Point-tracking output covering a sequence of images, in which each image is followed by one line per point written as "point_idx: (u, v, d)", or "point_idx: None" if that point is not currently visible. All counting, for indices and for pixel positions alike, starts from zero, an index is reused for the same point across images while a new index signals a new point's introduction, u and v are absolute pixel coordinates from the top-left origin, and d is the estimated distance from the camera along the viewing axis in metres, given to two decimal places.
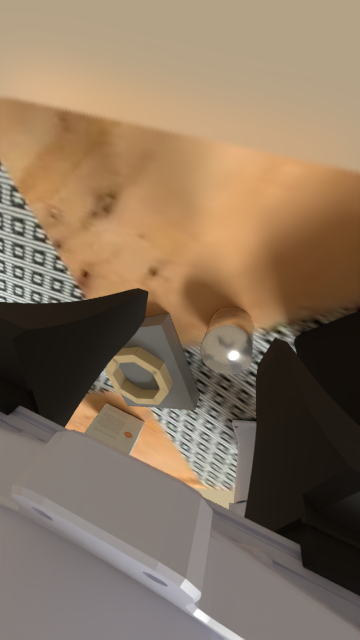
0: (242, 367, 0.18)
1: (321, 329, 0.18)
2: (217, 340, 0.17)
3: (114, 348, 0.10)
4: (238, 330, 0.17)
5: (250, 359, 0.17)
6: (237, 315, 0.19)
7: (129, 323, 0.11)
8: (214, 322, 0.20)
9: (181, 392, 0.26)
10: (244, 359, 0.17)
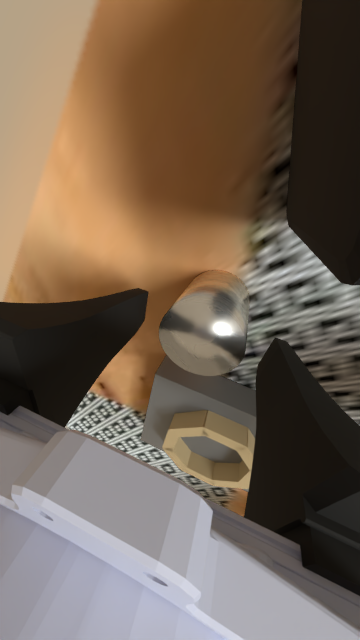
0: (234, 334, 0.09)
1: (290, 165, 0.09)
2: (168, 335, 0.11)
3: (114, 348, 0.10)
4: (180, 298, 0.11)
5: (223, 313, 0.09)
6: (189, 285, 0.13)
7: (129, 323, 0.11)
8: None
9: None
10: (219, 322, 0.09)
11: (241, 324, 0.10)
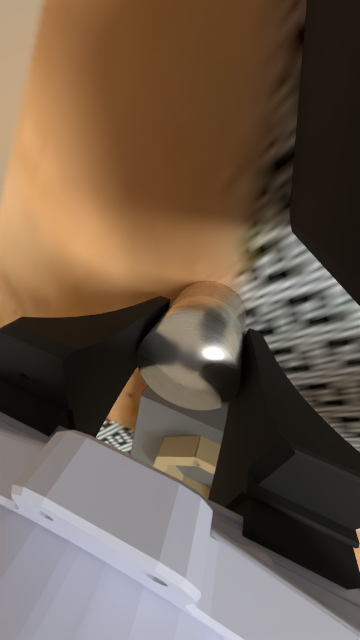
0: (226, 366, 0.08)
1: (295, 157, 0.07)
2: (147, 363, 0.09)
3: None
4: (162, 319, 0.09)
5: (211, 342, 0.07)
6: (175, 299, 0.11)
7: None
8: None
9: None
10: (208, 352, 0.08)
11: (235, 354, 0.08)
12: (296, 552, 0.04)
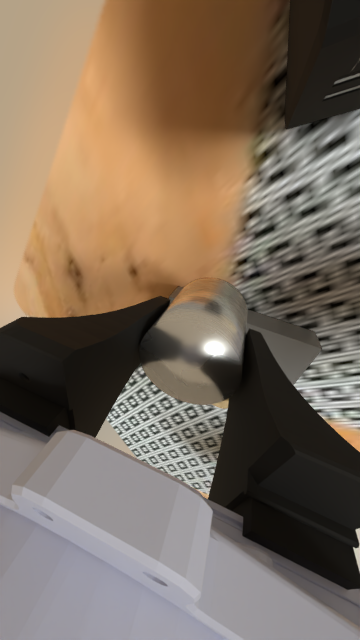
0: (228, 358, 0.08)
1: (287, 71, 0.11)
2: (150, 358, 0.09)
3: (138, 358, 0.10)
4: (163, 314, 0.09)
5: (212, 334, 0.07)
6: (176, 296, 0.11)
7: None
8: None
9: (276, 343, 0.17)
10: (209, 345, 0.08)
11: (236, 346, 0.08)
12: (296, 552, 0.04)
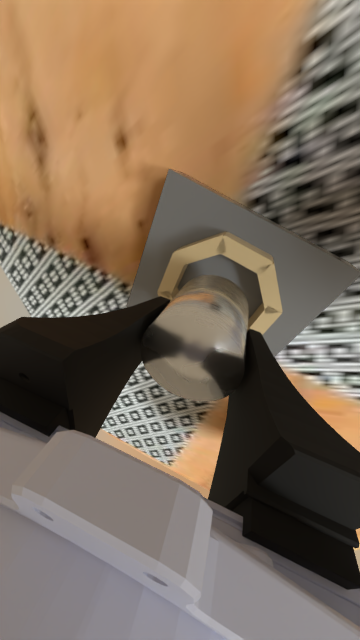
0: (230, 351, 0.08)
1: None
2: (151, 354, 0.09)
3: (138, 358, 0.10)
4: (164, 310, 0.09)
5: (213, 327, 0.07)
6: (177, 294, 0.11)
7: None
8: None
9: (302, 260, 0.13)
10: (210, 338, 0.08)
11: (237, 339, 0.08)
12: (296, 552, 0.04)
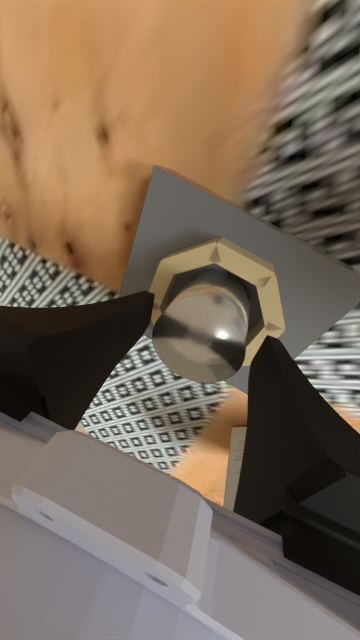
0: (232, 337, 0.09)
1: None
2: (162, 341, 0.10)
3: (121, 351, 0.10)
4: (173, 301, 0.10)
5: (218, 315, 0.08)
6: (184, 286, 0.12)
7: (136, 326, 0.11)
8: None
9: (308, 271, 0.11)
10: (215, 325, 0.09)
11: (239, 326, 0.09)
12: (343, 576, 0.04)
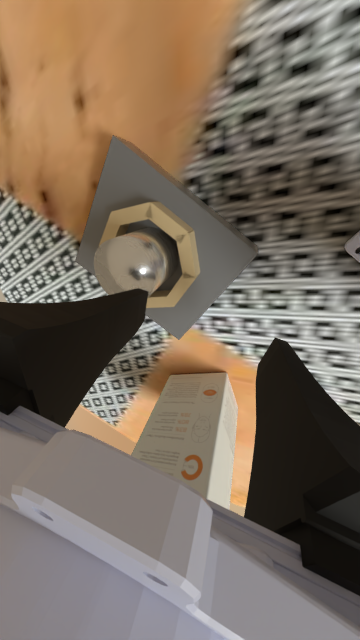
0: (146, 266, 0.13)
1: None
2: (100, 267, 0.14)
3: (114, 348, 0.10)
4: None
5: (137, 248, 0.12)
6: None
7: (129, 323, 0.11)
8: None
9: (216, 237, 0.15)
10: (135, 256, 0.13)
11: (152, 260, 0.13)
12: None
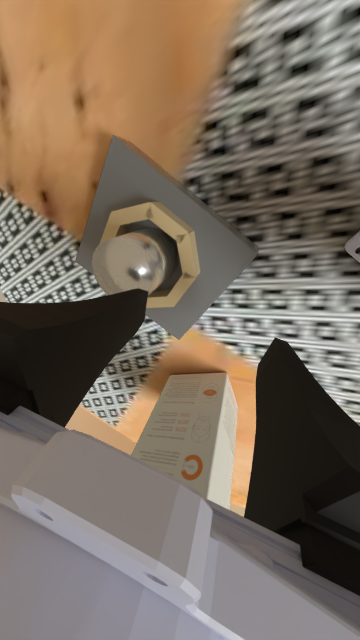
0: (143, 267, 0.13)
1: None
2: (99, 266, 0.14)
3: (114, 348, 0.10)
4: None
5: (134, 249, 0.12)
6: None
7: (129, 323, 0.11)
8: None
9: (216, 237, 0.15)
10: (132, 257, 0.13)
11: (149, 261, 0.13)
12: None
